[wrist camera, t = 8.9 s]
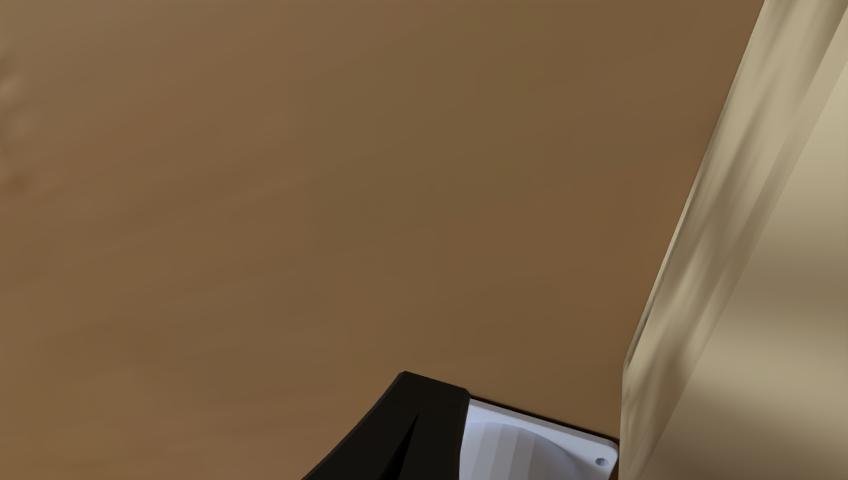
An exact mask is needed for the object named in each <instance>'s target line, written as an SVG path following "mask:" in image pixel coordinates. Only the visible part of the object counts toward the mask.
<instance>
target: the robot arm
mask: <svg viewBox="0 0 848 480" xmlns="http://www.w3.org/2000/svg"><path fill="white" fill-rule="evenodd" d="M470 397H471V394H470V393H469V392H468V391H467V389H465V388H461V387H458V386H455V385H451V384H448V383H444V382H441V381H438V380H434V379H431V378H428V377H424V376H421V375H417V374H414V373H411V372H407V371H404V372H401V373H399V374H398V376H397V377H396V379H395V380H394V381H393V383H392V384H391V385H390V386H389V388H388V389H387V390H386V391H385V393H384V394H383V395H382V396H381V398H380V399H379V400H378V401H377V402H376V403H375V405H374V406H373V407H372V408H371V409H370V410H369V412H368V413H367V414H366V415H365V416H364V417H363V418H362V419H361V420H360V422H359V423H358V424H357V425H356V426H355V427H354V428H353V429H352V430H351V431H350V432H349V433H348V434H347V435H346V436H345V437H344V438H343V439H342V440H341V442H340V443H339V444H338V445H337V446H336V447H335V448H334V449H333V450H332V451H331V452H330V453H329V454H328V455H327V456H326V457H325V458H324V459H323V460H322V461H321V462H320V463H319V464H317V465H316V466H315V467H314V468H313V469H312V470H311V471H310V472H309V473H308V474H307V475H306V476H305V477H304V478H302V479H301V480H608V479H609V477H610V475H611V473H612V470H613V468H614V466H615V464H616V461H617V459H618V452H619V448H618V446H617V445H616V444H615V443H614V442H612V441H610V440H607V439H604V438H601V437H597V436H594V435H591V434H587V433H584V432H581V431H577V430H574V429H571V428H567V427H564V426H561V425H557V424H554V423H551V422H547V421H544V420H541V419H537V418H534V417H531V416H527V415H524V414H520V413H517V412H514V411H510V410H507V409H504V408H500V407H497V406H494V405H490V404H487V403H484V402H480V401H477V400H474V399H470ZM603 458H604V459H603Z"/></svg>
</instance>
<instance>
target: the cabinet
mask: <svg viewBox="0 0 848 480" xmlns="http://www.w3.org/2000/svg"><path fill="white" fill-rule="evenodd" d="M618 480H848V0H765V2H764V4H763V7H762V9H761V12H760V14H759V17H758V19H757V22H756V25H755V27H754V30H753V32H752V35H751V37H750V40H749V43H748V45H747V48H746V50H745V53H744V55H743V58H742V60H741V63H740V66H739V68H738V71H737V73H736V76H735V78H734V81H733V84H732V86H731V89H730V91H729V94H728V96H727V99H726V101H725V104H724V107H723V109H722V112H721V114H720V117H719V119H718V122H717V125H716V127H715V130H714V132H713V135H712V137H711V140H710V142H709V145H708V148H707V150H706V153H705V155H704V158H703V160H702V163H701V165H700V168H699V171H698V173H697V176H696V178H695V181H694V183H693V186H692V189H691V191H690V194H689V196H688V199H687V201H686V204H685V206H684V209H683V212H682V214H681V217H680V219H679V222H678V224H677V227H676V230H675V232H674V235H673V237H672V240H671V242H670V245H669V247H668V250H667V253H666V255H665V258H664V260H663V263H662V265H661V268H660V271H659V273H658V276H657V278H656V281H655V283H654V286H653V288H652V291H651V294H650V296H649V299H648V301H647V304H646V306H645V309H644V312H643V314H642V317H641V319H640V322H639V324H638V327H637V329H636V332H635V335H634V337H633V340H632V342H631V345H630V347H629V350H628V353H627V355H626V358H625V360H624V363H623V385H622V408H621V432H620V455H619V478H618Z"/></svg>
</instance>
